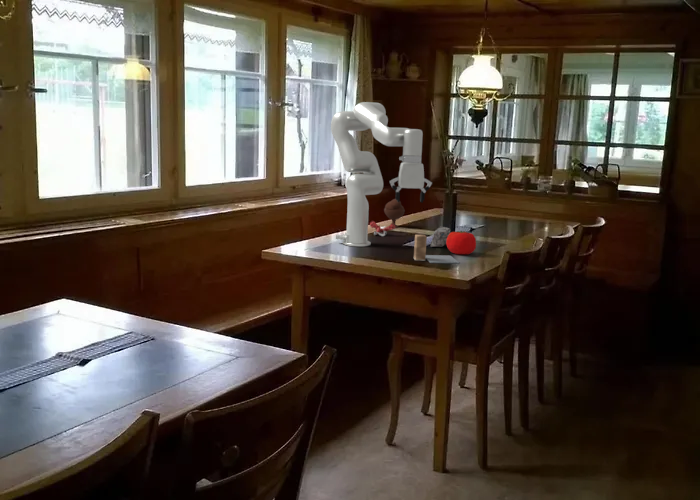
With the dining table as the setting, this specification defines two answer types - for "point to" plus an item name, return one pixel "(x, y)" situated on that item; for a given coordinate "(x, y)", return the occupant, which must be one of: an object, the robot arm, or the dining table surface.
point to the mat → (441, 259)
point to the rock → (440, 237)
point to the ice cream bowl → (394, 211)
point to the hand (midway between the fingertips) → (409, 202)
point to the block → (420, 247)
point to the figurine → (381, 228)
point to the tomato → (461, 242)
